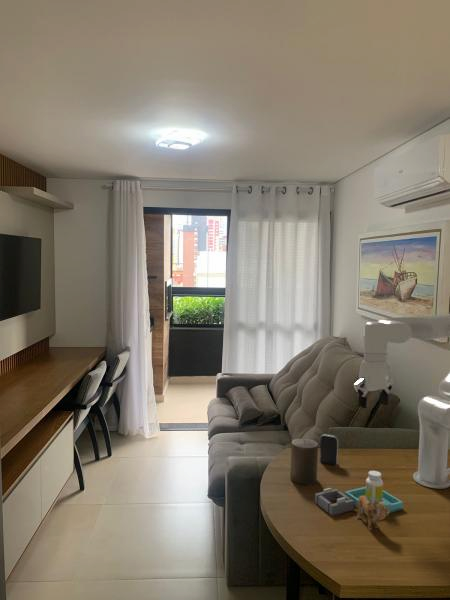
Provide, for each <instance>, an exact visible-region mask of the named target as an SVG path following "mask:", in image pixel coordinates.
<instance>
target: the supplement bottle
mask: <svg viewBox="0 0 450 600" xmlns="http://www.w3.org/2000/svg"><path fill="white" fill-rule="evenodd" d="M365 487H366V497H367V498H368V501H369V502H379V501H380V502H382V501H383V490H384V482H383V480H382V473H381V472H380V471H377V470H369V471H368V476H367V478H366V480H365Z"/></svg>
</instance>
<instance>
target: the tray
mask: <svg viewBox="0 0 450 600" xmlns="http://www.w3.org/2000/svg"><path fill="white" fill-rule="evenodd" d="M344 494H345V495H346V496H348V497H349V498H350V499H352V500H353V501H354V507H357V506H358V500H359V497H360V496H362V495H363V496H366V486H363V487H359V488H354V489H350V490H345V491H344ZM382 502H383V503H384V505H385V506H386V508H387V509H389V510H390V511H389V514H391V513H394V512H398V511H399V512H400V511H402V510H403V508H404V501H402V500H400V499H399V498H397V497H395V496H394V495H392V494H390V493H389V492H388V491H386V490H384V489H383V501H382Z"/></svg>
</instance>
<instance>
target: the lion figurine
mask: <svg viewBox="0 0 450 600" xmlns="http://www.w3.org/2000/svg"><path fill="white" fill-rule="evenodd" d="M353 509H354V511H355V510H357V516H356V519H358V520H361V518H362V517H361V514H365V515H366V516H367V530H369V531H372V530H373V527H374V528H376V529H379V527H380V526H379V525H378V524H377V523H378V522H381V520H384V519H385V518H386V517H388V515H389V514H390V513H389V511H390V510H389V509H387V508H386V506H385V505H384V503H383V502H380V501H379V502H369V501H368V498H367V497H366V496H363V495H362V496H360V497H359V500H358V506H357V507H356V506H354V508H353ZM372 521H373V525H372Z"/></svg>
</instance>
